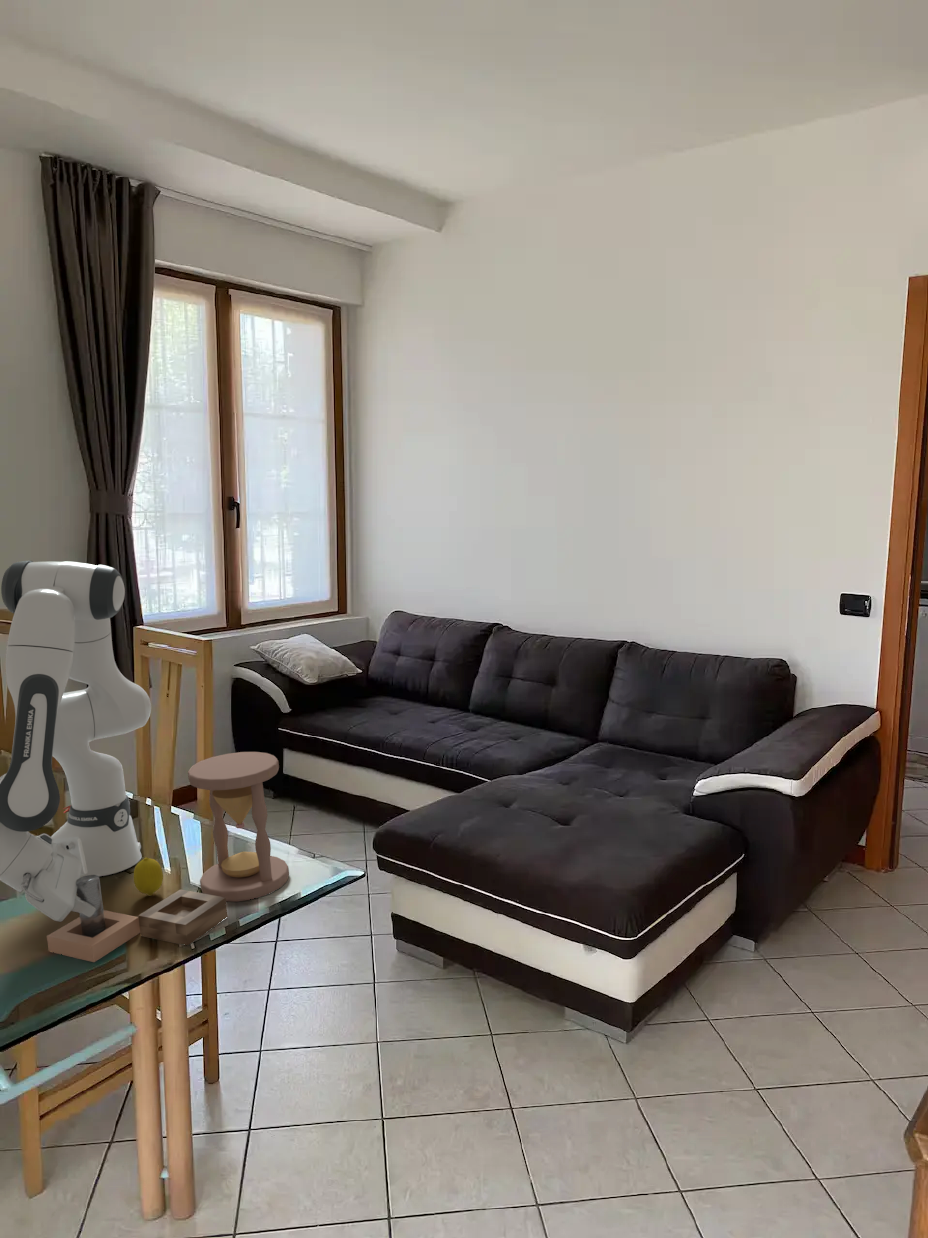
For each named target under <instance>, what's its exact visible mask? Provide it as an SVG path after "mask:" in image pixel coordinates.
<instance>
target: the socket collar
mask: <svg viewBox="0 0 928 1238" xmlns="http://www.w3.org/2000/svg"><path fill="white" fill-rule="evenodd" d="M103 911H104V918H105V926H106V930H105V931H103V932H101V933H100V934H98V935H96V936H95V937H93V938H91V937H87V936H82V929H81V921H80V916H78V917H77V918H75V919H73V920H72V921H70V922H68V923H66V924H65V925H63V926H62V927H60V928H58V929H57V930H55V931H53V932H51V933H50V934H47V935H46V940H47V941H46V942H47V946H48V952H49V951H52V952H51V953H53V952H54V953H53V954H57V955H61V954H62V955H63V956H66V957H70V958H74V959H78V960H83V961H87V962H91V963H95V962H97V961H98V960H100V959H102V958H103V957H106V955H108V954H110V953H111V952H113V951H114V950H115V949H117V948H118V947H120V946H123V944H125V943H126V942H128V941H130V940H131V939H133V938H135V937H136V936H137V935H139V934H140V926H139V918H138V916H135V915H130V914H126V913H121V912H115V911H111V910H105V909H103Z"/></svg>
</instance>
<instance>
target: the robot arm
mask: <svg viewBox="0 0 928 1238" xmlns="http://www.w3.org/2000/svg"><path fill="white" fill-rule="evenodd" d="M0 589H1V590H0V591H1V592H0V594H1V599H2V602H3V605H5V608H7V609H8V611H9V612H10V613H12V614H13V617H12V619H11V623H10V624H11V625H10V628H9V634H8V637H7V645H6V652H5V680H6V687H7V689H8V691H9V693H10V695H11V698H12V702H13V705H14V706H13V707H14V713H15V721H14V723H15V724H14V729H13V730H14V731H13V732H14V733H13V740H12V741H13V742H12V747H11V748H12V749H11V756H10V757H11V758H10V763H9V767H8V769H7V772H6V773H4V774H2V775H1V776H0V882H2V883H4V884H5V885H7V886H9V888H10V887H11V888H13V890H16V891H17V892H18V893H19V892H22V891H24V896H25V897H24V898H25V900H26V901H27V902H28V903H29V904H30V905H31V906H32V907H33V908H35V909H37V910H38V911H39V912H40V913H42V914H43V915H45V916H46V917H48V918H49V919H51V920H53V921H55V922H60V923H61V922H63V921H64V920H65V919H66V918H67V917H68V915H69V914H70V913H71V912H73V913H75V912H76V913H78V914H79V913H83V914H84V915H86V916H88V917H91V916H92V915H93V914H94V912H95V910H96V906H95V905H94V904H92V903H91V902H88V903H87V902H85V901H82V900H80V898H79V897H78V896H77V888H78V887H77V885H76V880H77V879H79V878H81V877H83V876H87V875H97V876H99V877H102V876H103V877H105V876H109V875H112V874H113V875H114V874H117V873H119V872H122V871H125V870H127V869H130V868H131V867H133V866H136V865H137V864H138V863H139V862H140V861H141V860H142V853H141V849H142V845H141V842H140V841H139V842H138V839H137V834H136V830H135V825H134V821H133V818H132V815H131V807H130V805H131V803H130V800H129V796H128V795H127V792H126V785H125V783H126V782H125V776H124V769H123V768H124V767H123V765H122V763H121V762H120V760H119V759H118V758H116V757H115V756H112V755H110V754H106V753H102V752H97V751H94V750H92V749H91V747H90V742H93V741H95V740H99V739H104V738H105V739H106V738H110V737H115V736H119V735H121V736H122V735H125V734H127V733H130V732H132V731H135V730H138V729H141V728H142V727H145V726H146V724H147V723H148V721H149V718H150V716H151V712H152V704H151V698H150V696H149V694H148V693H147V691H146V690H144V688H143V687H142V686H140V685H139V684H137V683H135V682H132V681H131V680H130V679H128V678H127V677H125V676H124V675H123V674H122V673H121V671H120V669H119V668H118V665H117V663H116V661H115V656H114V650H113V649H114V648H113V641H112V640H113V639H112V626H111V625H112V624H111V618H113V617H114V616H116V615H117V614H118V613H119V612H120V610H122V606H123V603H124V600H125V594H126V592H125V591H126V590H125V585H124V578H123V576H122V574H121V573H120V572H119V571H118V569H116V568H114V567H112V566H109V565H105V564H98V565H97V564H96V565H95V564H91V563H87V562H86V563H85V562H79V561H72V560H71V561H70V560H66V561H65V560H64V561H49V560H47V561H33V560H23V561H16V562H14V563H11V565H10V566H8V568H7V569H6V570H5V571H4V574H3V576H2V579H1V588H0ZM69 679H70V680H71V681H72V680H73V681H75V682H79V683H83V684H86V685H88V686H87V688H83V689H80V690H73V691H68V692H65V691H66V688H67V686H68V685H67V684H68V682H69ZM53 758H54V759H55V760H56V761H57V762H58V763H59V765H60V766H61V767H62V770H63V771H64V773H65V777H66V781H67V784H68V790H69V791H68V792H69V795H70V796H69V797H70V802H71V804H70V805H68V806H65V807H64V808H62V810H65V811H63V814H66V813H68V815H67V816H68V817H67V821H66V822H65V823H64V824H62V826H60V827H59V829H57V831H56V832H54V833H53V834H52V835H51V836H50V835H49V834H47V833H41V834H40V835H33V834H32V833H30V832H31V831H36V830H38V829H40V828H42V827H44V826H45V825H47V824H48V823H49V822H50V821H51V820H52V819H53V818H54V817H55V815H56V814H57V812H58V810H59V807H60V801H61V797H60V795H61V794H60V790H59V787H58V783H57V781H56V779H55V776H54V771H53V768H52V767H53Z"/></svg>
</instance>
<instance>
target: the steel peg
mask: <svg viewBox="0 0 928 1238" xmlns="http://www.w3.org/2000/svg"><path fill="white" fill-rule="evenodd" d="M76 885H77V887H78V888H77V893H76V896H78V897H79V898H80V900H82V901H85V902H87V903H88V902H91V903H92V904H94V905H95V906H96V910H95V912H94V914H93V915H92V916H91V917H88V916H86V915H84V914H83V913H79V912H78V914H79V917H80V921H81V929H82V936H87V937H91V938H93V937H95V936H96V935H98V934H100V933H101V932H103V931H105V930H106V926H105V918H104V911H103V910H104V905H103V898H102V896H103V895H102V889H101V881H100V876H97V875H87V876H83V877H81V878H79V879H77V880H76Z"/></svg>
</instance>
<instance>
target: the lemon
mask: <svg viewBox="0 0 928 1238" xmlns="http://www.w3.org/2000/svg"><path fill="white" fill-rule="evenodd" d="M163 880H164V872H163V870H162V866H161V863H159V862H158V861H157V860H156V859H154V858H151V857H150V858H149V857H147V856H145V857H144V858H143V859H140V861H139V862H138V863H136V864H135V867H134V870H133V883H134V886H135V887H136V889H137V890H138V891H139V892H140V893H142V894H146V895H148V896H153V894H154V893H155V892H157V891H159V889H160V888H161V886H162V884H163Z"/></svg>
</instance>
